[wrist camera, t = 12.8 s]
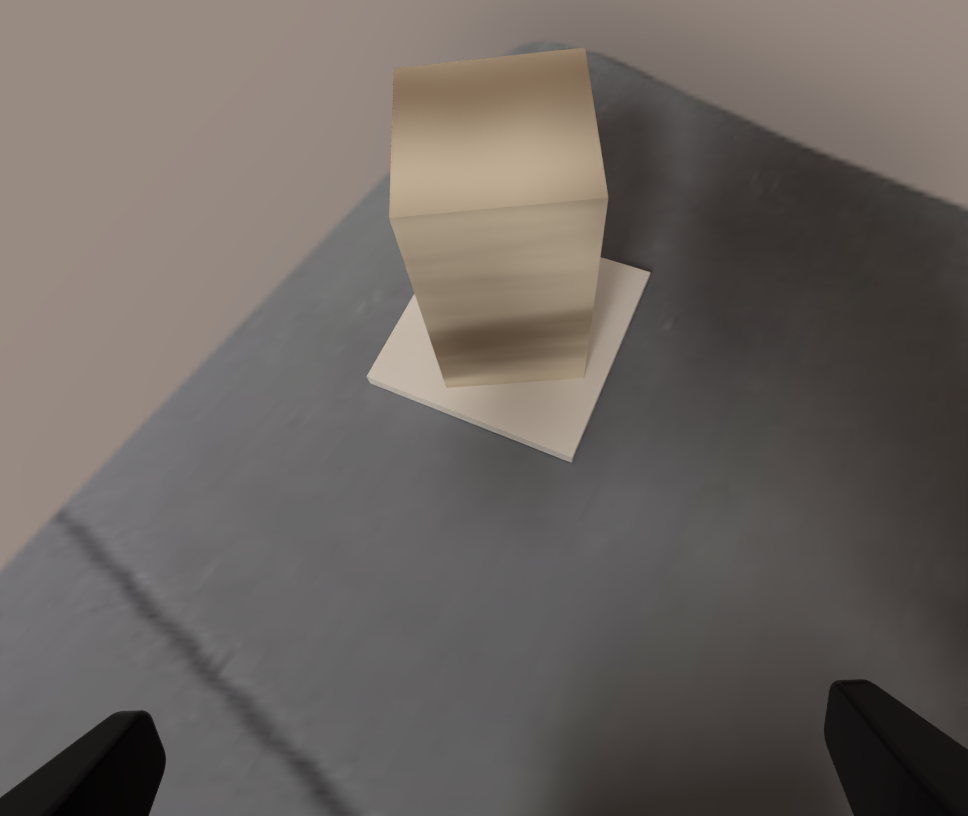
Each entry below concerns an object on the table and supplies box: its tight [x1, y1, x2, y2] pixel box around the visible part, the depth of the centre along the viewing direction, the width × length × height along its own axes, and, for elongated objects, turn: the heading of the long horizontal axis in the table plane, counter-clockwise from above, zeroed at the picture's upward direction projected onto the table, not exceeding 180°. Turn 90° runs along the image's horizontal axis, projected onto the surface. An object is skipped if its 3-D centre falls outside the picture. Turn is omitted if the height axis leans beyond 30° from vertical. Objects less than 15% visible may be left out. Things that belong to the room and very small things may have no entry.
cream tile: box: [367, 257, 651, 463], centre depth 26 cm, size 9×9×1 cm
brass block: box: [389, 48, 608, 388], centre depth 21 cm, size 6×6×10 cm
